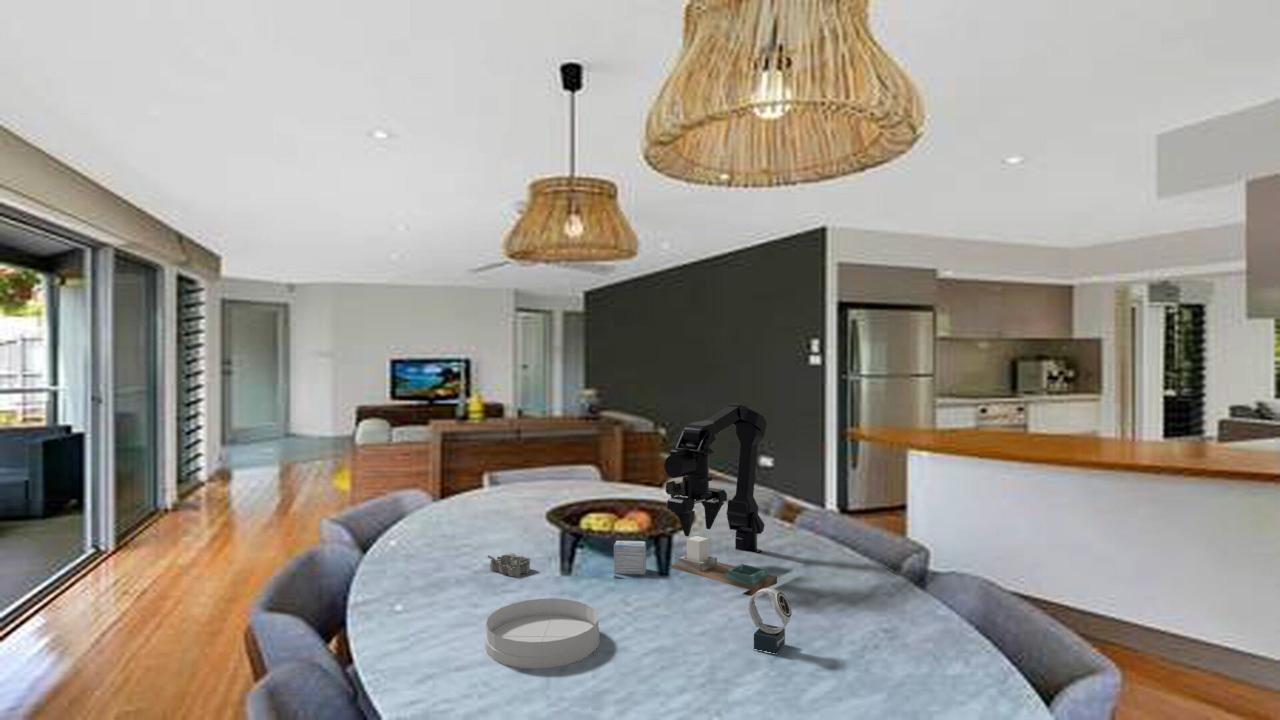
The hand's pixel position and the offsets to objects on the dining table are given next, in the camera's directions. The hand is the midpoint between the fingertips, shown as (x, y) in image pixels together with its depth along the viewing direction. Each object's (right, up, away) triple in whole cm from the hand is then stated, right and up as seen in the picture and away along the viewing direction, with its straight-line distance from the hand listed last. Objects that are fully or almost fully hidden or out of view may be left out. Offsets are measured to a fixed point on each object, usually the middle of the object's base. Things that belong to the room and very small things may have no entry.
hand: (697, 532), depth 175 cm
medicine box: (-18, -10, -4) cm, 21 cm away
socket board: (+5, -10, -5) cm, 13 cm away
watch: (+10, -11, -46) cm, 48 cm away
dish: (-34, -11, -44) cm, 56 cm away
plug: (0, -9, 0) cm, 9 cm away
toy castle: (-49, -11, +1) cm, 50 cm away
